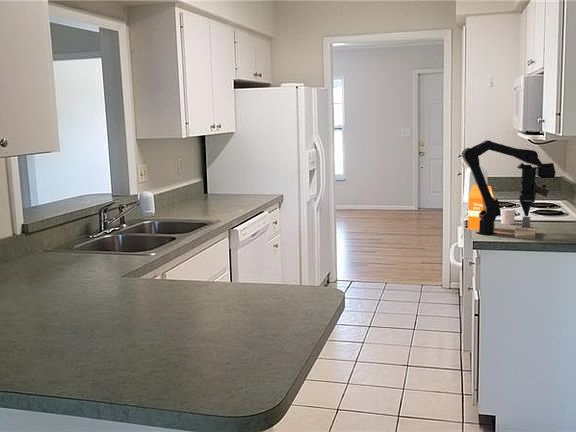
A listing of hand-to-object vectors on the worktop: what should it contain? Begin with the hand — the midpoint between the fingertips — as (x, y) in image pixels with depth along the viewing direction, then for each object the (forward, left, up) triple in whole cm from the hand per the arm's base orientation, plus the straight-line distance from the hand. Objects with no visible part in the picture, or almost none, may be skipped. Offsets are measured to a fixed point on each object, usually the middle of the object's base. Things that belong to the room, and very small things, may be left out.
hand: (527, 214), depth 276 cm
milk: (+70, +80, -9) cm, 107 cm away
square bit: (0, 0, -9) cm, 9 cm away
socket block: (-3, -2, -9) cm, 9 cm away
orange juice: (-4, +21, -9) cm, 23 cm away
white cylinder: (+17, +21, -9) cm, 29 cm away
